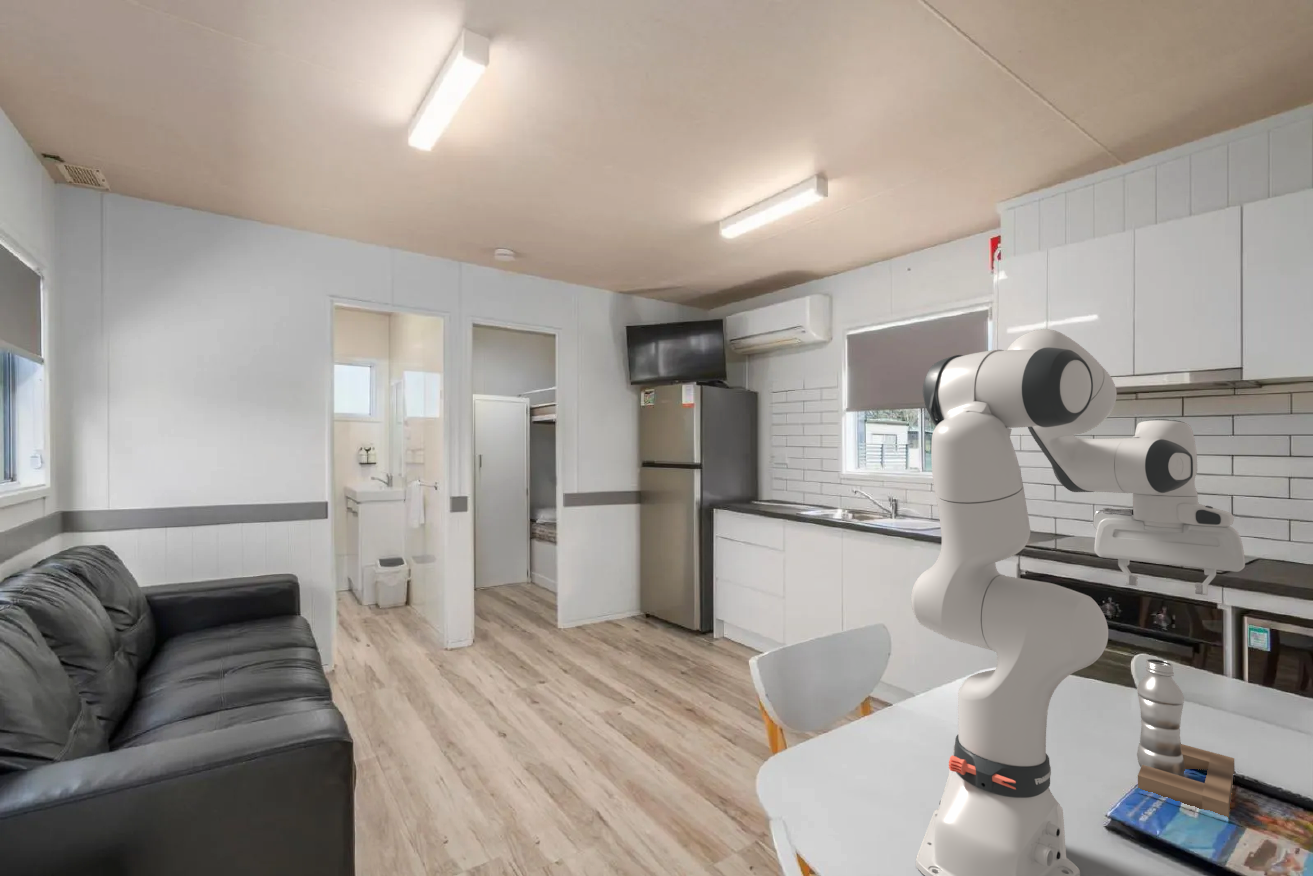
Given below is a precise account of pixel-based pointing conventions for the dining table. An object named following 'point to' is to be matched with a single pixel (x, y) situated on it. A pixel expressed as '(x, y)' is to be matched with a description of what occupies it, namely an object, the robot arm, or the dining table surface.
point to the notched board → (1190, 791)
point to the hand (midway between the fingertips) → (1165, 589)
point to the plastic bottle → (1160, 719)
